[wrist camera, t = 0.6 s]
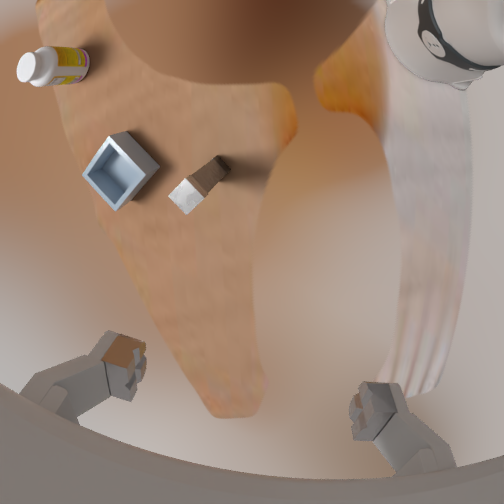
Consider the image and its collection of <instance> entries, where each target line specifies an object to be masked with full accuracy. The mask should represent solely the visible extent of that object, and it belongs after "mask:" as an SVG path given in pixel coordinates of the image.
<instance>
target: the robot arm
mask: <svg viewBox="0 0 504 504" xmlns="http://www.w3.org/2000/svg"><path fill="white" fill-rule="evenodd" d="M386 3H387V6H388V10H387V14H386V19H385V32H386V37H387V40H388V43H389V45H390V48H391V49H392V51H393V53H394V54H395V56H396V57H397V59H398V60H399V61H400V62H401V63H402V64H403V65H404V66H405V67H406V68H407V69H408V70H409V71H411V72H412V73H414V74H415V75H417V76H419V77H421V78H423V79H426V80H429V81H433V82H443V83H447V84H449V85H451V86H453V87H454V88H456V89H459V90H464V89H467V88H468V86H469V85H470V84H471V83H472V81H473V80H478V79H481V78H482V74H483V73H484V72H485V71H488V70H492V69H495V68H498V67H500V66H501V65H504V0H386ZM145 351H146V343H145V342H144V341H141V340H138V339H135V338H132V337H128V336H125V335H122V334H118V333H116V332H113V331H109V330H108V331H106V332H105V333H104V335H103V336H102V337H101V339H100V340H99V341H98V343H97V344H96V345H95V347H94V348H93V349H92V351H91V352H90V353H89V355H88V356H87V355H83V356H80V357H77V358H75V359H73V360H70V361H67V362H65V363H62V364H59V365H57V366H54V367H51V368H49V369H46V370H43V371H41V372H38V373H35V374H34V376H33V377H32V378H31V379H30V381H29V382H28V383H27V384H26V386H25V387H24V388H23V389H22V391H21V392H20V393H19V394H18V393H16V392H14V391H13V390H11V389H9V388H8V387H6V386H5V385H3V384H1V383H0V504H504V455H503V456H500V457H497V458H493V459H490V460H486V461H482V462H478V463H474V464H470V465H466V466H462V467H457V466H456V463H455V460H454V457H453V454H452V451H451V449H450V446H449V444H447V443H446V442H445V441H444V440H443V439H442V438H441V437H439V436H438V435H437V434H436V433H435V432H434V431H433V430H432V429H430V428H429V427H428V426H427V425H426V424H424V422H422V421H421V420H420V419H419V418H418V417H417V416H416V415H414V414H413V413H410V412H409V410H408V407H407V404H406V401H405V398H404V395H403V393H402V390H401V387H400V385H399V384H398V383H381V382H365V381H364V382H362V383H361V384H360V386H359V388H358V389H359V393H358V394H356V395H354V397H353V398H352V400H351V403H350V407H349V416H350V419H351V420H352V421H353V422H354V424H353V426H352V427H351V428H352V434H353V440H360V441H373V443H374V444H375V445H376V447H377V448H378V449H379V451H380V452H381V453H382V455H383V456H384V457H385V458H386V460H387V461H388V462H389V464H390V465H391V466H392V467H393V469H394V470H395V471H396V472H397V473H396V474H395V475H393V476H392V477H387V478H373V479H346V480H345V479H344V480H343V479H342V480H341V479H340V480H337V479H303V478H288V477H277V476H267V475H258V474H251V473H244V472H238V471H231V470H226V469H220V468H215V467H210V466H205V465H201V464H196V463H192V462H187V461H183V460H179V459H176V458H172V457H168V456H164V455H160V454H157V453H154V452H151V451H147V450H144V449H141V448H138V447H135V446H132V445H129V444H126V443H123V442H121V441H118V440H115V439H112V438H110V437H107V436H104V435H102V434H99V433H97V432H94V431H92V430H90V429H87V428H85V427H83V426H80V424H79V422H78V419H77V417H78V416H80V415H81V414H83V413H84V412H86V411H88V410H89V409H91V408H93V407H94V406H96V405H98V404H99V403H101V402H103V401H104V400H106V399H107V398H109V397H110V395H111V396H114V397H117V398H120V399H123V400H126V401H130V402H131V401H132V399H133V397H134V395H135V393H136V391H137V383H139V382H141V381H142V379H143V377H144V374H145V370H146V363H147V361H146V357H145V356H144V353H145Z"/></svg>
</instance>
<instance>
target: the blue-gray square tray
mask: <svg viewBox="0 0 504 504" xmlns="http://www.w3.org/2000/svg"><path fill="white" fill-rule="evenodd" d="M159 168H160V166H159V165H158V164H157V163H156V162H155V161H154V160H153V158H152V157H151V156H150V155H149V154H148V153H147V152H146V151H145V150H144V149H143V148H142V147H141V146H140V145H139V144H138V143H137V142H136V141H135V140H134V139H133V138H132V137H131V136H130V134H129V133H128V132H127V131H125V132H121V133H117V134H114V135H110V136H108V138H107V139H106V141H105V142H104V143H103V145H102V146H101V148H100V149H99V150H98V152H97V153H96V155H95V156H94V158H93V159H92V161H91V162H90V164H89V165H88V167H87V168H86V170H85V171H84V173H83V174H82V176H83V177H84V178H85V179H86V180H87V181H88V182H89V183H90V185H91V186H92V187H93V188H94V189H95V190H96V191H97V192H98V193H99V194H100V195H101V197H102V198H103V199H104V200H105V201H106V202H107V203H108V204H109V205H110V206H111V207H112V208H113V209H114V210H115V212H116V211H117V210H119V209H120V208H121V207H123V206H124V205H126V204H127V203H128V202H130V201H131V200H132V199H133V198H134V196H135V195H136V194H137V193H138V192H139V191H140V189H141V188H142V187H143V186H144V185H145V184H146V182H147V181H148V180H149V179H150V178H151V177H152V176H153V174H154V173H155V172H156V171H157V170H158V169H159Z"/></svg>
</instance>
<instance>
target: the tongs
mask: <svg viewBox="0 0 504 504" xmlns="http://www.w3.org/2000/svg"><path fill="white" fill-rule="evenodd" d="M230 170H231V169H230V168H229V167H228V166H227V165H226V164H225V162H224V161H223V160H222V159H221V158H220V157H219V156H218V155H217V156H216V157H214V158H213V159H212V160H211V161H210V162H209V163H207V164H206V165H204V166H203V167H202V168H200V169H199V170H198V171H196V172H195V173H194V174H192V175H189V176H188V177H187V178H185V179H184V180H183V181H182V182H181V183H180V184H179V185H178V186H177V187H176V188H175V190H174V191H173V192H172V193H171V194H170V195H169V198H170V199H171V200H172V201H173V202H174V203H175V204H176V205H177V206H178V207H179V208H180V209H181V210H182V211H183V212H184V213H185V214H186V215H187V214H188V213H189V212H190V211H191V210H192V209H194V208H195V207H196V206H197V205H198V204H199V203H200V202H201V201H202V200H203V199H204V198H205V197H206V196H207V195H208V192H209V191H210V190H211V189H212V188H213V187H214V186H215V185H216V184H217V183H218V182H219V181H220V180H221V179H222V178H223V177H224V176H225V175H226V174H227V173H228V172H229V171H230Z"/></svg>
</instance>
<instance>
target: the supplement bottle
mask: <svg viewBox="0 0 504 504" xmlns="http://www.w3.org/2000/svg"><path fill="white" fill-rule="evenodd" d="M89 63H90V61H89V56H88V54H87V52H86V51H85V50H83V49H80V48H69V47H52V46H45V47H41V48H39V49H38V50H37V51H35V52H28V53H26V54H24V55H23V56H22V58H21V59H20V61H19V63H18V67H17V76H18V79H19V80H20V81H21V82H30V83H31V84H32V85H34V86H37V87H40V86H51V85H62V84H73V83H77V82H79V81H80V80H82V79H83V78H84V76H85V75H86V73H87V71H88V68H89Z"/></svg>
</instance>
